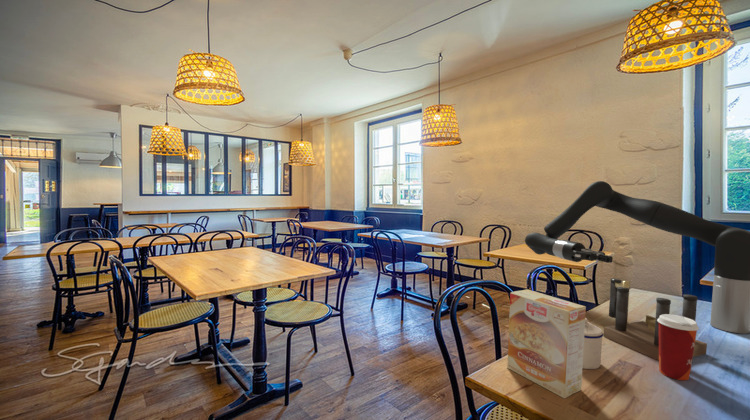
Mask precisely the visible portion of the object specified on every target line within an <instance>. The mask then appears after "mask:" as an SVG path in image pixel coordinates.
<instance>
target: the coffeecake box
mask: <svg viewBox="0 0 750 420" xmlns="http://www.w3.org/2000/svg"><path fill="white" fill-rule="evenodd" d="M509 295H510V297H509V316H508V319H509V320H508V321H509V322H508V342H507V343H508V344H507V362H506V363H507V364H506V369H509V370H510V371H512V372H514V373H516V374H518V375H519V376H522V377H524V378H525V379H527V380H529V381H531V382H533V383H535V384H536V385H539V386H540V387H542V388H544V389H545V390H547V391H550V392H551V393H553V394H554V395H557V396H559V398H563V399H567V398H568V397H571V396H572V395H573V394H576V393H578V392H580V391H582V387H583V386H582V384H583V380H582V379H583V369H584V368H583V349H584V331H585V318H586V309H587V306H585V305H582V304H578V303H576V302H571V301H569V300H565V299H562V298H559V297H555V296H551V295H548V294H545V293H541V292H538V291H534V290H531V289H529V288H528V289H523V290H515V291H511V292H510V293H509Z"/></svg>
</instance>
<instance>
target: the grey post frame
mask: <svg viewBox="0 0 750 420" xmlns="http://www.w3.org/2000/svg"><path fill="white" fill-rule="evenodd" d="M630 286H631V281H629V280H622V279H619V278H610V287H609V289H610V290H609V305H608V306H609V307H608V317H610V318H614V319H616V304H617V287H626V288H629V289H630ZM629 301H630V294H629V295H628V305H630V304H629V303H630V302H629ZM628 318H629V311H628V312H627V321H628Z"/></svg>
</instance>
